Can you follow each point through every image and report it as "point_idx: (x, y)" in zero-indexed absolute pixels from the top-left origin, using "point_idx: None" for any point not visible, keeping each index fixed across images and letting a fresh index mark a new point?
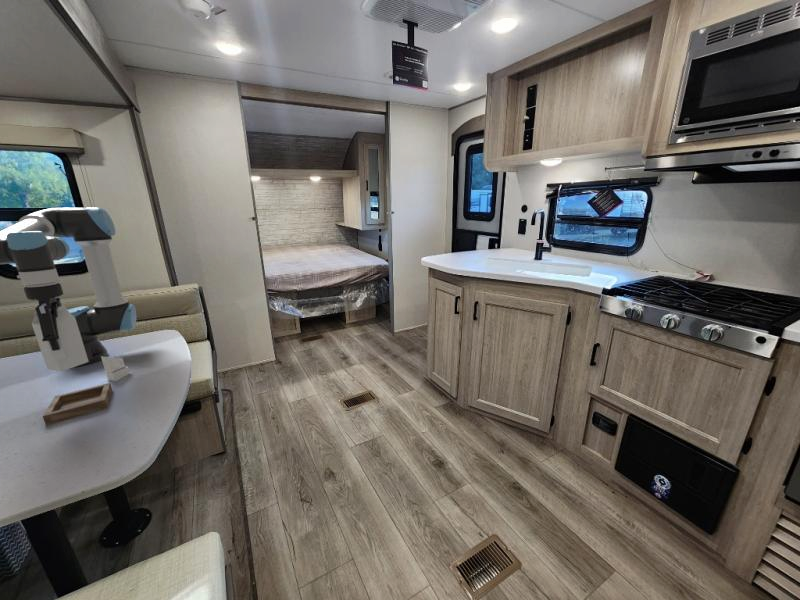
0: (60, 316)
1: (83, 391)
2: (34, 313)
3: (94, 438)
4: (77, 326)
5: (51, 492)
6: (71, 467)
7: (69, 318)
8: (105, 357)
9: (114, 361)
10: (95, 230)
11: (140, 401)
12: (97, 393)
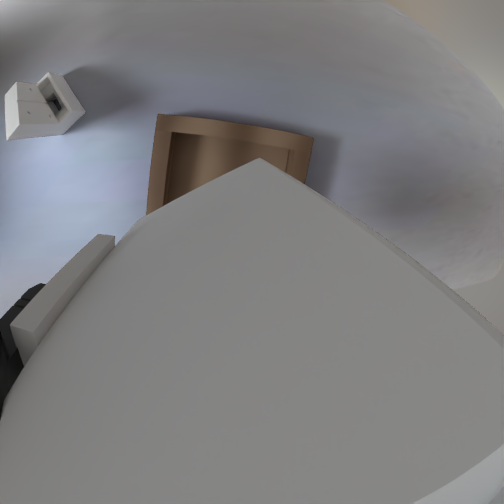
0: None
1: (165, 190)
2: None
3: (434, 183)
4: (390, 244)
5: (501, 242)
6: (479, 221)
7: None
8: (21, 122)
9: (28, 102)
10: None
11: (334, 64)
12: (172, 154)
